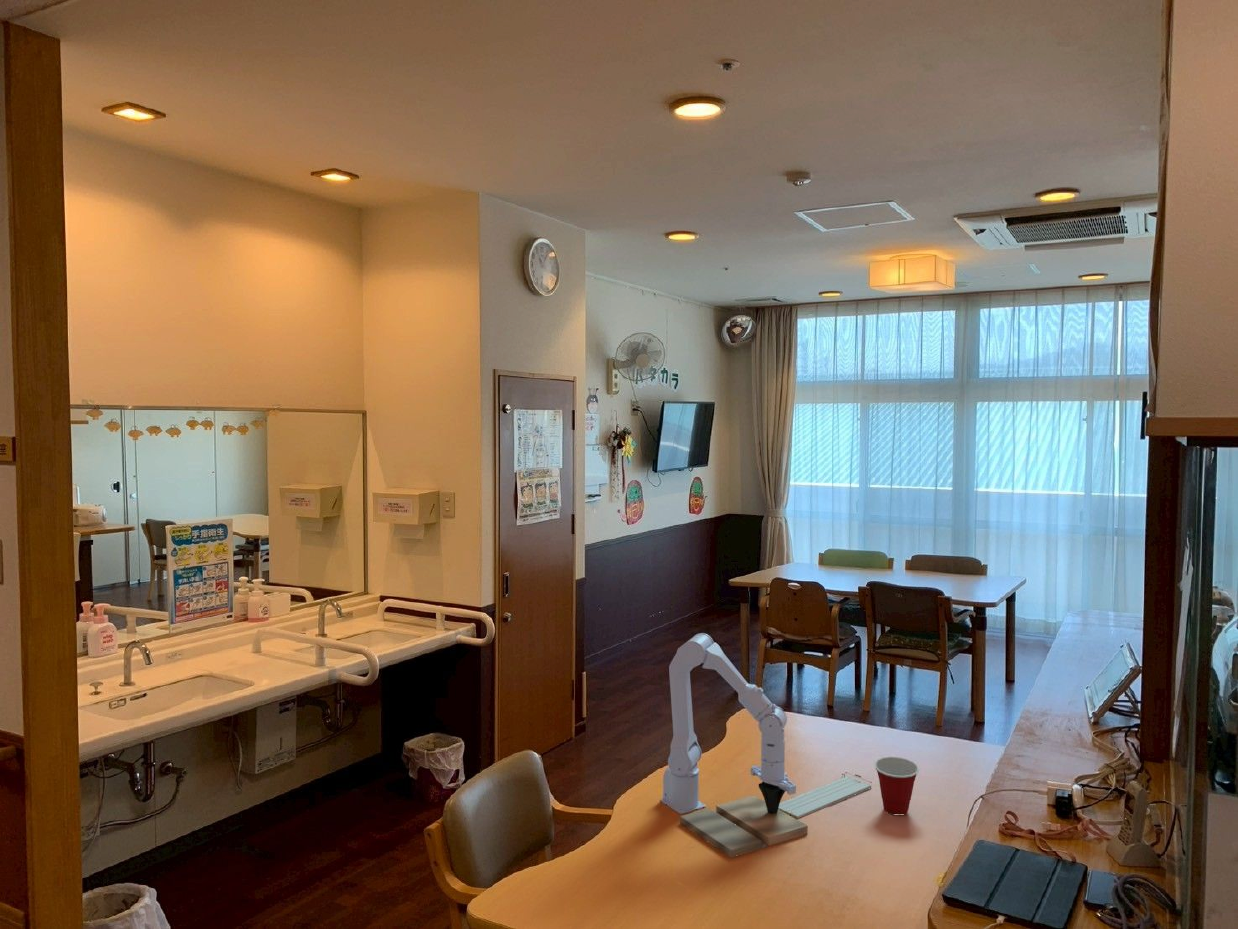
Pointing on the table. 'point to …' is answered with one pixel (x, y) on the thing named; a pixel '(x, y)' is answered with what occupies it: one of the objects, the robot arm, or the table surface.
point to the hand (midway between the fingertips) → (772, 812)
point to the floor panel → (721, 832)
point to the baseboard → (823, 796)
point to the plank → (761, 820)
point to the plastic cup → (896, 783)
